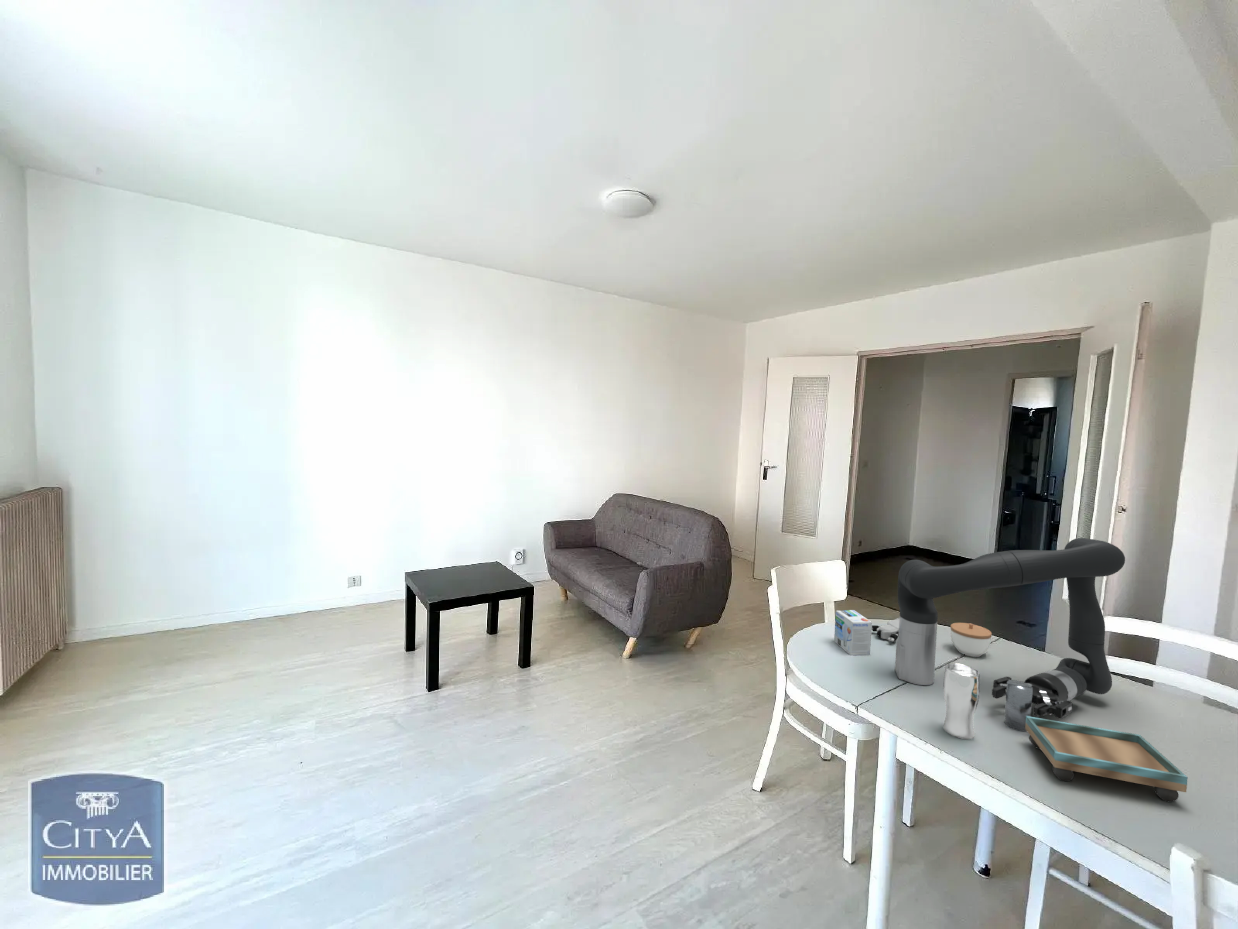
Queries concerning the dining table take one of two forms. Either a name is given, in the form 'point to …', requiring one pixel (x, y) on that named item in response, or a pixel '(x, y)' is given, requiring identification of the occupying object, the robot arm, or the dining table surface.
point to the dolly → (1105, 755)
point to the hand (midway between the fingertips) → (1014, 702)
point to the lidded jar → (970, 639)
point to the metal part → (1018, 704)
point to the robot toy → (888, 630)
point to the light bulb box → (853, 632)
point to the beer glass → (961, 699)
